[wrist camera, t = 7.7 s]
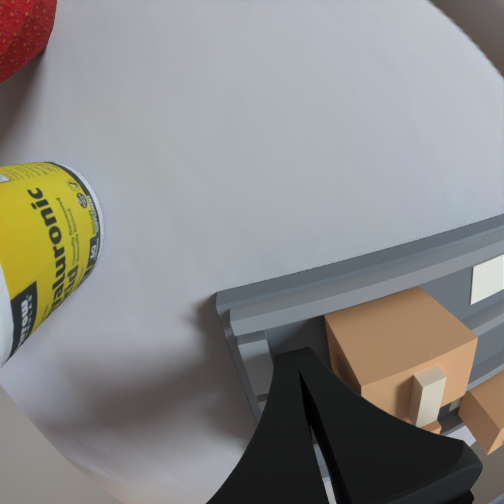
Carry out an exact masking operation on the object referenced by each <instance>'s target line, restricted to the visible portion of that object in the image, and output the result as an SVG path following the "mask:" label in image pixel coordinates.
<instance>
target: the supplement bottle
mask: <svg viewBox="0 0 504 504" xmlns="http://www.w3.org/2000/svg"><path fill="white" fill-rule="evenodd" d="M103 240H104V223H103V216H102V211H101V208H100V205H99V202H98V199H97V197H96V195H95V193H94V191H93V189H92V188H91V186H90V185H89V183H88V182H87V181H86V180H85V179H84V178H83V177H82V176H81V175H80V174H79V173H78V172H77V171H75V170H73V169H72V168H70V167H68V166H66V165H63V164H60V163H55V162H34V163H26V164H17V165H8V166H2V167H0V368H1V367H2V366H3V365H4V364H5V363H6V362H7V361H8V359H9V358H10V357H12V355H13V354H14V353H15V352H16V351H17V350H18V348H19V347H20V346H21V345H22V344H23V343H24V342H25V340H26V339H27V338H28V337H29V336H30V335H31V334H32V333H33V332H34V331H35V330H36V329H37V328H38V327H39V326H40V324H41V323H42V322H43V321H44V320H45V319H46V318H47V317H48V316H49V315H50V314H51V313H52V312H53V311H54V310H55V309H56V308H57V307H58V306H59V305H60V304H61V303H62V302H63V301H64V300H65V299H66V298H67V297H68V296H69V295H70V294H71V293H72V292H73V291H74V290H75V289H77V288H78V287H79V286H80V285H81V284H82V282H83V281H84V280H85V279H86V278H87V277H88V276H89V275H90V273H91V272H92V271H93V269H94V268H95V266H96V264H97V262H98V260H99V257H100V254H101V251H102V247H103Z"/></svg>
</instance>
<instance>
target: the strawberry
mask: <svg viewBox="0 0 504 504" xmlns="http://www.w3.org/2000/svg"><path fill="white" fill-rule="evenodd" d="M56 5H57V0H0V83H1V82H3V81H4V80H6V79H7V78H9V77H10V76H11V75H13V74H14V73H15V72H17V71H18V70H20V69H21V68H23V67H24V66H25V65H27V64H28V63H29V62H31V61H32V60H33V59H34V58H35V57H36V56H37V55H38V54H39V53H40V52H42V51H43V50H44V48H45V47H46V45H47V43H48V40H49V37H50V35H51V32H52V29H53V25H54V19H55V12H56Z"/></svg>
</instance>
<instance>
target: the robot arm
mask: <svg viewBox="0 0 504 504" xmlns="http://www.w3.org/2000/svg"><path fill="white" fill-rule="evenodd" d="M310 424H311V427H312V430H313V432H314V435H315V437H316V440H317V443H318V445H319V448H320V450H321V453H322V456H323V458H324V461H325V464H326V467H327V470H328V473H329V477H330V480H331V484H332V488H333V492H334V496H335V500H336V504H472V502H473V500H474V496H473V495H472V493H471V491H470V489H471V487H472V486H473V485H474V483H475V482H476V480H477V479H478V477H479V476H480V474H481V472H482V469H483V465H482V463H481V461H480V460H479V459H478V457H477V455H476V454H475V453H474V452H473V450H472V449H471V448H470V447H469V446H468V445H467V444H466V443H465V442H464V441H463V440H459V439H454V438H450V437H446V436H442V435H439V434H436V433H433V432H430V431H427V430H424V429H422V428H419V427H416V426H414V425H412V424H410V423H408V422H405V421H403V420H401V419H399V418H397V417H395V416H393V415H391V414H389V413H387V412H386V411H384V410H382V409H380V408H379V407H377V406H376V405H374V404H372V403H371V402H369V401H368V400H366V399H365V398H364V397H362V396H361V395H359V394H358V393H357V392H356V391H354V390H353V389H352V388H350V387H349V386H348V385H347V384H346V383H345V382H343V381H342V380H341V379H340V378H339V377H338V376H337V375H336V374H335V373H334V372H333V371H332V370H331V369H330V368H329V367H328V366H327V365H326V364H325V363H324V362H323V361H322V360H321V359H320V357H319V356H318V355H317V354H316V352H315V351H314V350H313V348H311V347H309V346H308V347H304V348H301V349H297V350H293V351H289V352H285V353H281V354H277V355H276V356H275V357H274V369H273V376H272V382H271V386H270V390H269V394H268V398H267V401H266V404H265V407H264V410H263V413H262V416H261V419H260V421H259V424H258V426H257V428H256V431H255V433H254V435H253V437H252V439H251V441H250V443H249V445H248V447H247V449H246V450H245V452H244V454H243V456H242V457H241V459H240V461H239V462H238V464H237V465H236V467H235V468H234V470H233V471H232V473H231V474H230V475H229V477H228V478H227V479H226V481H225V482H224V483H223V485H222V486H221V487H220V489H219V490H218V491H217V492H216V493H215V494H214V496H213V497H212V498H211V499H210V500H209V501H208V502H207V503H206V504H329V501H328V497H327V494H326V490H325V486H324V483H323V479H322V476H321V472H320V468H319V465H318V461H317V458H316V454H315V450H314V447H313V441H312V434H311V427H310ZM489 504H504V494H502V495H501V496H499V497H498V498H496V499H495V500H493V501H492V502H491V503H489Z"/></svg>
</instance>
